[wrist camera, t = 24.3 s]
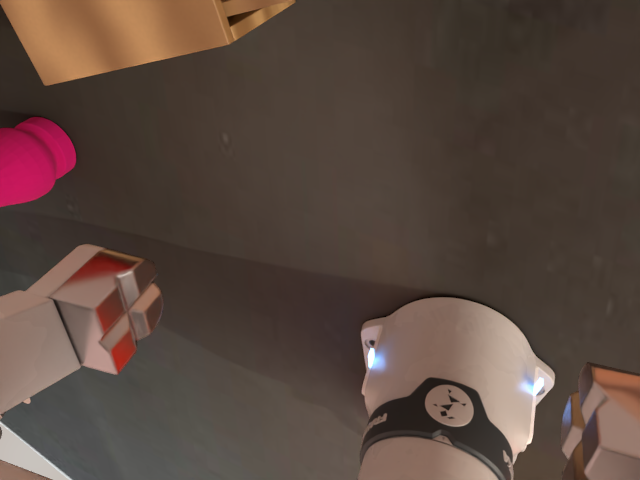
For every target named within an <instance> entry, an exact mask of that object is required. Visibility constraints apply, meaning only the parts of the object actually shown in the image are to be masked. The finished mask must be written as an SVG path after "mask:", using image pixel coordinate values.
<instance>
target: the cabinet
mask: <svg viewBox="0 0 640 480" xmlns="http://www.w3.org/2000/svg"><path fill="white" fill-rule="evenodd" d="M295 2H296V1H295V0H292V1H288V2H284V3H280V4H276V5H272V6H268V7H264V8H260V9H256V10H252V11H248V12H244V13H240V14H236V15H232V16H228V17H226V14H225V11H224V8H223V5H222V2H221V0H0V4H1V6H2V8H3V9H4V11H5V13H6V15H7V17H8V19H9V21H10V22H11V24H12V26H13V28H14V30H15V32H16V33H17V35H18V37H19V39H20V41H21V43H22V44H23V46H24V48H25V50H26V52H27V54H28V56H29V57H30V59H31V61H32V63H33V65H34V67H35V68H36V70H37V72H38V74H39V76H40V78H41V79H42V81H43V83H44V85H45V86H47V85H52V84H56V83H61V82H65V81H70V80H74V79H78V78H83V77H87V76H92V75H96V74H101V73H105V72H110V71H114V70H118V69H123V68H127V67H132V66H136V65H141V64H145V63H150V62H154V61H158V60H163V59H167V58H172V57H176V56H181V55H185V54H190V53H194V52H198V51H203V50H207V49H212V48H216V47H221V46H225V45H229V44H230V43H232V42H233V41H235V40H237V39H239V38H240V37H242V36H243V35H245V34H246V33H248V32H250V31H251V30H253V29H254V28H256V27H257V26H259V25H261V24H262V23H264V22H265V21H267V20H268V19H270V18H272V17H273V16H275V15H276V14H278V13H279V12H281V11H283V10H284V9H286V8H287V7H289V6H290V5H292V4H294V3H295Z"/></svg>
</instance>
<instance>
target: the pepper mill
mask: <svg viewBox="0 0 640 480" xmlns="http://www.w3.org/2000/svg"><path fill="white" fill-rule="evenodd" d="M75 163H76V152H75V148H74V146H73V144H72V142H71V140H70V138H69V137H68V136H67V134H66V133H65V132H64V131H63V130H62V129H61V128H60V127H59V126H58V125H57V124H55V123H54V122H52V121H51V120H48V119H45V118H42V117H32V118H29V119H27V120H26V121H24V122H22V123H20V124H18V125H17V126H16V127H15V128H0V207H2V206H7V205H13V204H19V203H25V202H29V201H32V200H35V199H38V198H39V197H41V196H43V195H45V194H46V193H48V192H49V191H50V190H51V189H52V187H53V185H54V183H55V180H56V179H58V178H60V177H62V176H63V175H65V174H66V173H68V172H69V171H71V170H72V169H73V168H74V166H75Z"/></svg>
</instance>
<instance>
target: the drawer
mask: <svg viewBox="0 0 640 480" xmlns="http://www.w3.org/2000/svg"><path fill="white" fill-rule="evenodd" d="M288 1H292V0H221V2H222V5H223V8H224V11H225V14H226V17H228V16H232V15H236V14H240V13H244V12H248V11H252V10H256V9H260V8H264V7H268V6H272V5H276V4H280V3H284V2H288Z"/></svg>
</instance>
